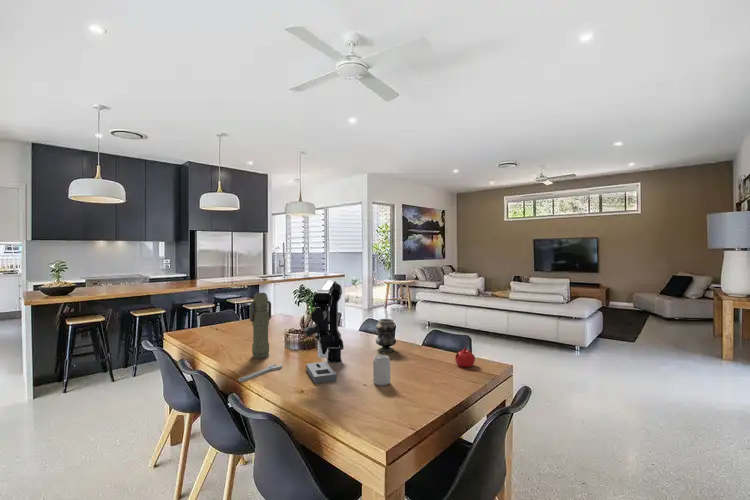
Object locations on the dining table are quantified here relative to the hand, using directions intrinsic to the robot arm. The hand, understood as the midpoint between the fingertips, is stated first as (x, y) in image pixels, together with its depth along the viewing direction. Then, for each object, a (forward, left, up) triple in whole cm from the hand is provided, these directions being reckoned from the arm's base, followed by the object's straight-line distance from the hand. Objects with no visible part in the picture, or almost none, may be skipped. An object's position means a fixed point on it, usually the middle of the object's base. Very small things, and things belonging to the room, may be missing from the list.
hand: (322, 352), depth 172 cm
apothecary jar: (-45, -32, -12) cm, 57 cm away
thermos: (+24, -46, -12) cm, 54 cm away
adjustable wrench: (+26, -18, -12) cm, 34 cm away
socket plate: (0, -4, -12) cm, 13 cm away
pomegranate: (-72, +8, -12) cm, 73 cm away
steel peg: (0, 0, -2) cm, 2 cm away
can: (-23, +16, -12) cm, 30 cm away
